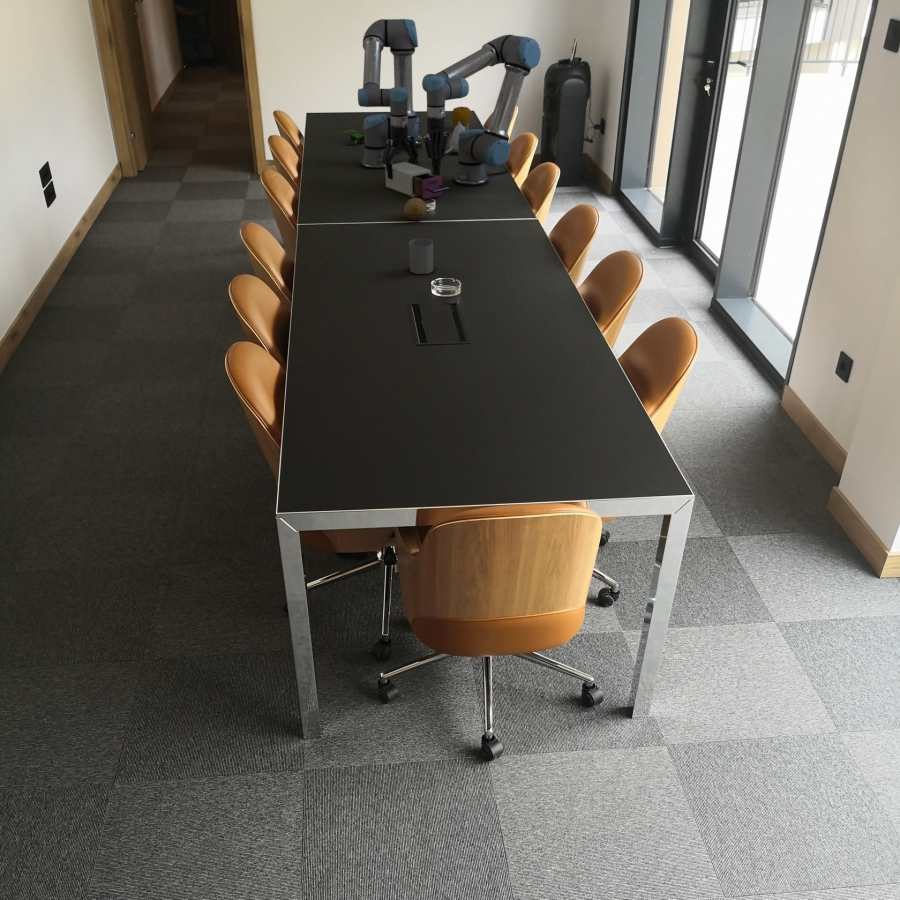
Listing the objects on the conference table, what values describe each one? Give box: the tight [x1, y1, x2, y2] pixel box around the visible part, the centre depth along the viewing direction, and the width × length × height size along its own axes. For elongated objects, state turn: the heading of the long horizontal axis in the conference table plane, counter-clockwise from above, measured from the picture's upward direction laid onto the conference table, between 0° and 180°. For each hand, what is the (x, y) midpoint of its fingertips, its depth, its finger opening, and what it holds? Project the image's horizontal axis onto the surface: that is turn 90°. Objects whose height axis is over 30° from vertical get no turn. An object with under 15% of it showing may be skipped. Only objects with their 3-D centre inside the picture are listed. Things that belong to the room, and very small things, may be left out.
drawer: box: [412, 173, 450, 199], centre depth 381 cm, size 23×10×8 cm, turn 39°
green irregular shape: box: [340, 129, 365, 146], centre depth 465 cm, size 6×13×30 cm
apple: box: [451, 105, 472, 129], centre depth 487 cm, size 11×11×13 cm
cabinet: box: [384, 161, 432, 198], centre depth 389 cm, size 19×11×10 cm, turn 39°
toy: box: [445, 121, 470, 155], centre depth 440 cm, size 9×24×15 cm, turn 137°
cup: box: [408, 237, 434, 275], centre depth 305 cm, size 8×8×10 cm
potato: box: [403, 197, 428, 221], centre depth 354 cm, size 10×14×8 cm
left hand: (400, 176), depth 392 cm, fingers closed on cabinet, 11 cm apart
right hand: (436, 174), depth 372 cm, fingers closed
